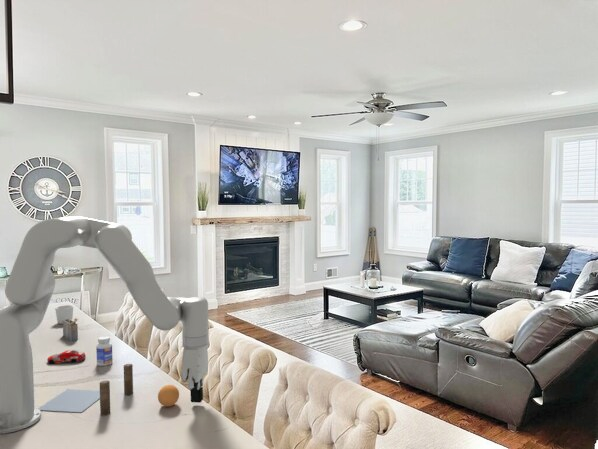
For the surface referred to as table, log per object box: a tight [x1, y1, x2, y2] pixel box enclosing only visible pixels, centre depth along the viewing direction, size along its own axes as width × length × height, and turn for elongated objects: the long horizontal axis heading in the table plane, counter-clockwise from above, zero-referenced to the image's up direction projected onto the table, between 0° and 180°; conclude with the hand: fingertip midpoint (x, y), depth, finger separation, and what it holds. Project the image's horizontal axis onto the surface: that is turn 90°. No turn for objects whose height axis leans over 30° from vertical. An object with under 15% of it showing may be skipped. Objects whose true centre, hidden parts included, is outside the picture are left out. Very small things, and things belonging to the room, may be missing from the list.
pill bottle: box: [95, 336, 114, 367], centre depth 162 cm, size 5×5×10 cm
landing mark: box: [37, 388, 100, 414], centre depth 132 cm, size 14×14×1 cm
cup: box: [54, 304, 74, 325], centre depth 220 cm, size 11×8×8 cm
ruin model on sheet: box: [62, 317, 79, 342], centre depth 194 cm, size 11×3×10 cm, turn 45°
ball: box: [157, 384, 180, 407], centre depth 128 cm, size 6×6×6 cm
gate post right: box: [123, 363, 134, 396], centre depth 136 cm, size 3×3×9 cm
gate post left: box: [99, 380, 111, 417], centre depth 123 cm, size 3×3×9 cm
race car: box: [46, 349, 87, 365], centre depth 165 cm, size 13×5×4 cm, turn 95°
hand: (196, 401), depth 128 cm, fingers closed
